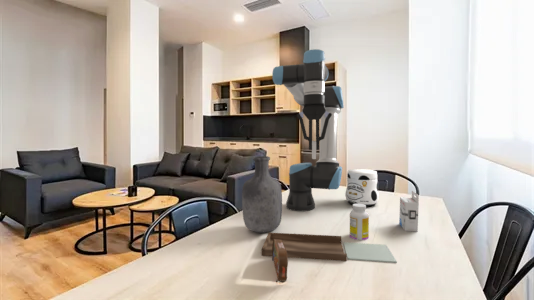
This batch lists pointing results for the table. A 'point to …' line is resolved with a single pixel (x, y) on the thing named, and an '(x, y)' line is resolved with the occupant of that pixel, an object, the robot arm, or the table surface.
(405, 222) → the ink box
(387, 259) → the cover plate
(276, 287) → the table surface
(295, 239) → the walnut case
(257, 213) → the vase
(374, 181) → the milk container
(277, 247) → the tin
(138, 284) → the table surface
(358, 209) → the supplement bottle
